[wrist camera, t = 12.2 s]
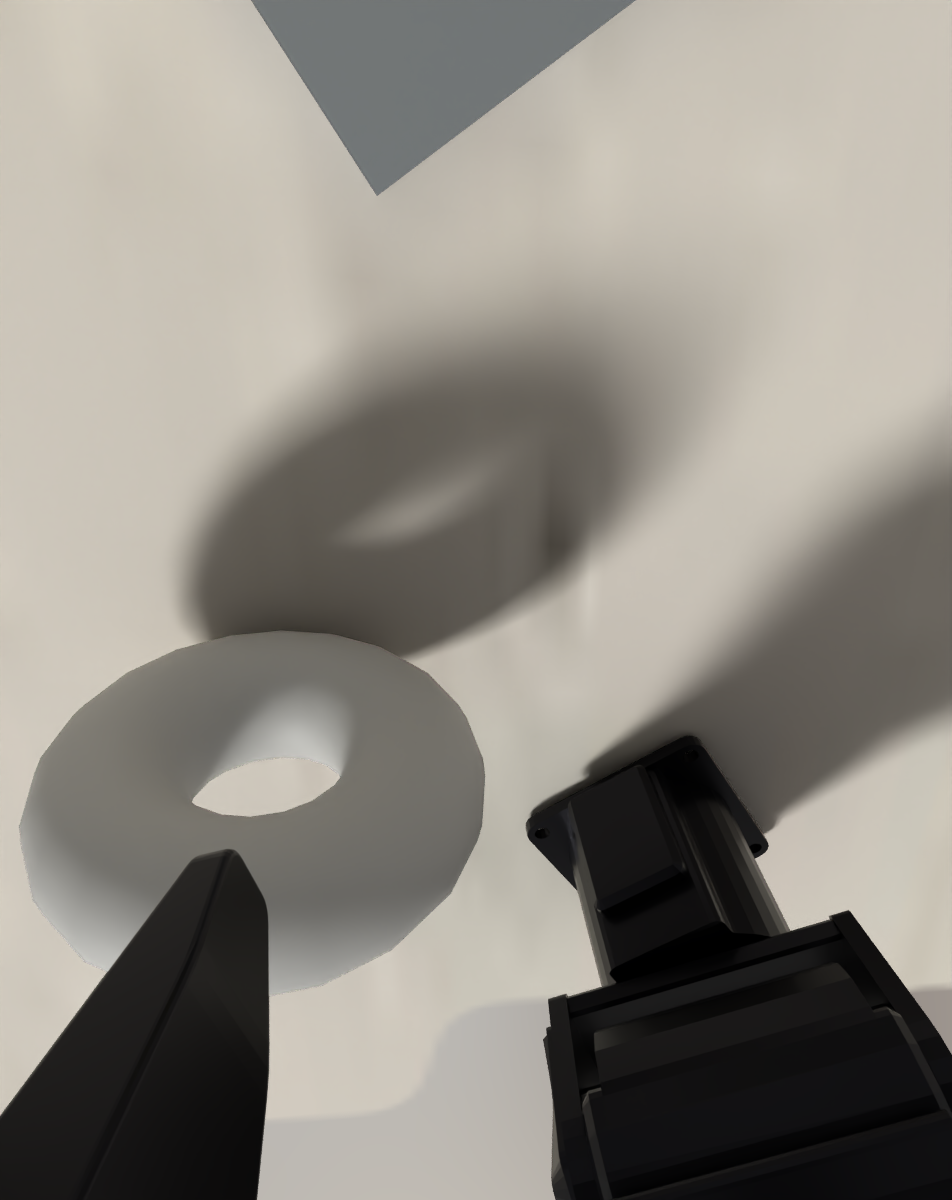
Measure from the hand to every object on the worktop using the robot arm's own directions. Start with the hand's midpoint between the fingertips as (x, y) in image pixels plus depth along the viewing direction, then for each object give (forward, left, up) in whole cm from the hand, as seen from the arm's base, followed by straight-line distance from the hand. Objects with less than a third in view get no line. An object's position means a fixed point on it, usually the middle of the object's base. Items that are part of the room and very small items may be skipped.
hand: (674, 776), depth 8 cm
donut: (-3, +9, -13) cm, 16 cm away
